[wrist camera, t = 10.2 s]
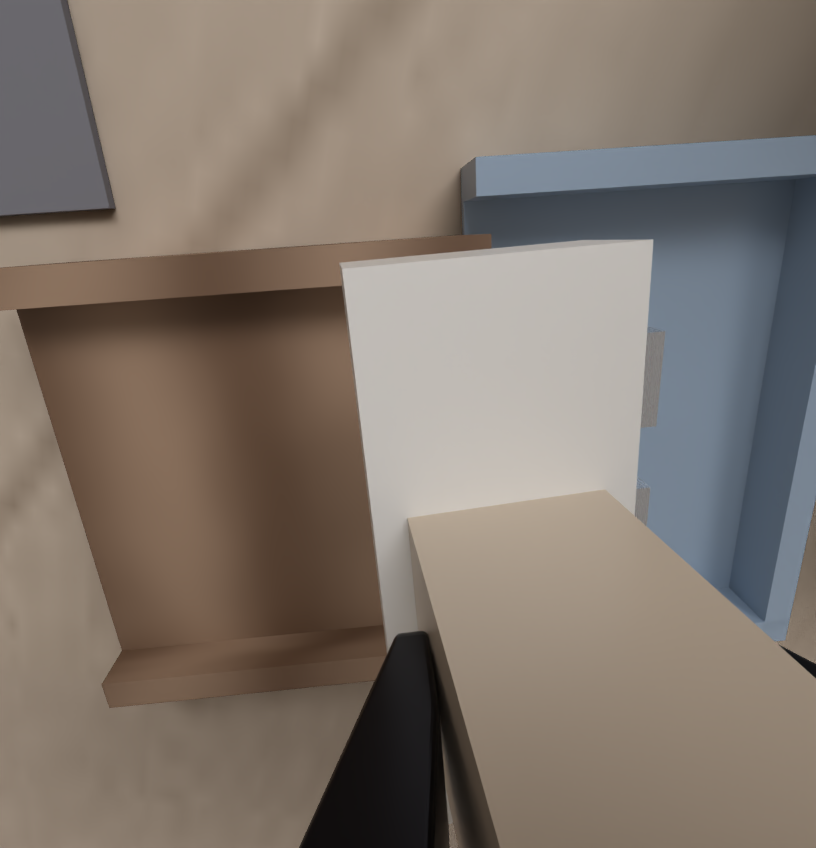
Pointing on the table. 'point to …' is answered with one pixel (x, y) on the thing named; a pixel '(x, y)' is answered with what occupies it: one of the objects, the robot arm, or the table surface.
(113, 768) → the table surface
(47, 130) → the mat
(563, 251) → the plate with square knob
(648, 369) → the chip
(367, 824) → the robot arm
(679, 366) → the chip tray
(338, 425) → the groove block
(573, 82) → the table surface
